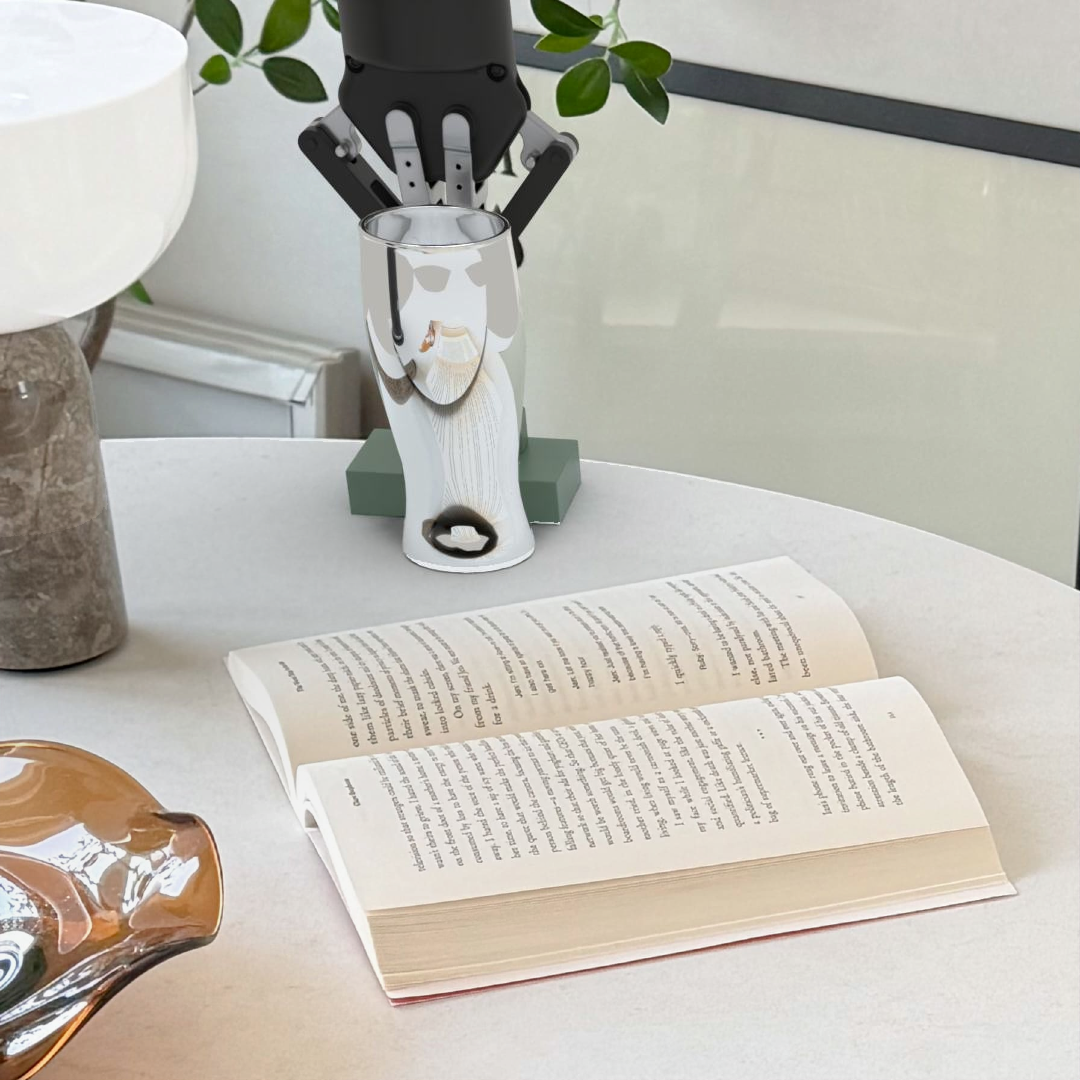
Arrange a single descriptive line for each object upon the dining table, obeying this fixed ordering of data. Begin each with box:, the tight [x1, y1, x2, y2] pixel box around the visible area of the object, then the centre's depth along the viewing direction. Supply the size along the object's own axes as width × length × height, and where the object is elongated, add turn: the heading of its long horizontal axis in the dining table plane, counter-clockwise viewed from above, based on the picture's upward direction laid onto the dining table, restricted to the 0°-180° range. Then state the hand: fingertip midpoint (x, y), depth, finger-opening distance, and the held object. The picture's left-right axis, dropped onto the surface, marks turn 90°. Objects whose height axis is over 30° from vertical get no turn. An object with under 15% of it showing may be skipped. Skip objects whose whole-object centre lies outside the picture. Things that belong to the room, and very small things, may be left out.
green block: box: [344, 406, 582, 523], centre depth 136 cm, size 10×7×4 cm
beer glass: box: [357, 203, 536, 567], centre depth 128 cm, size 7×7×15 cm
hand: (461, 335), depth 134 cm, fingers closed
